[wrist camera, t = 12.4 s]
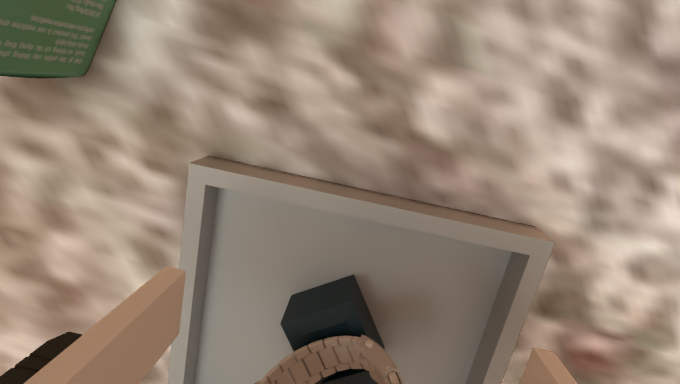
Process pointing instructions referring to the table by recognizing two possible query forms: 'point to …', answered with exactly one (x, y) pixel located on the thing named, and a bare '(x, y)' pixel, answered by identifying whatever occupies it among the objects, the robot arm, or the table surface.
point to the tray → (341, 261)
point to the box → (50, 36)
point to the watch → (332, 339)
